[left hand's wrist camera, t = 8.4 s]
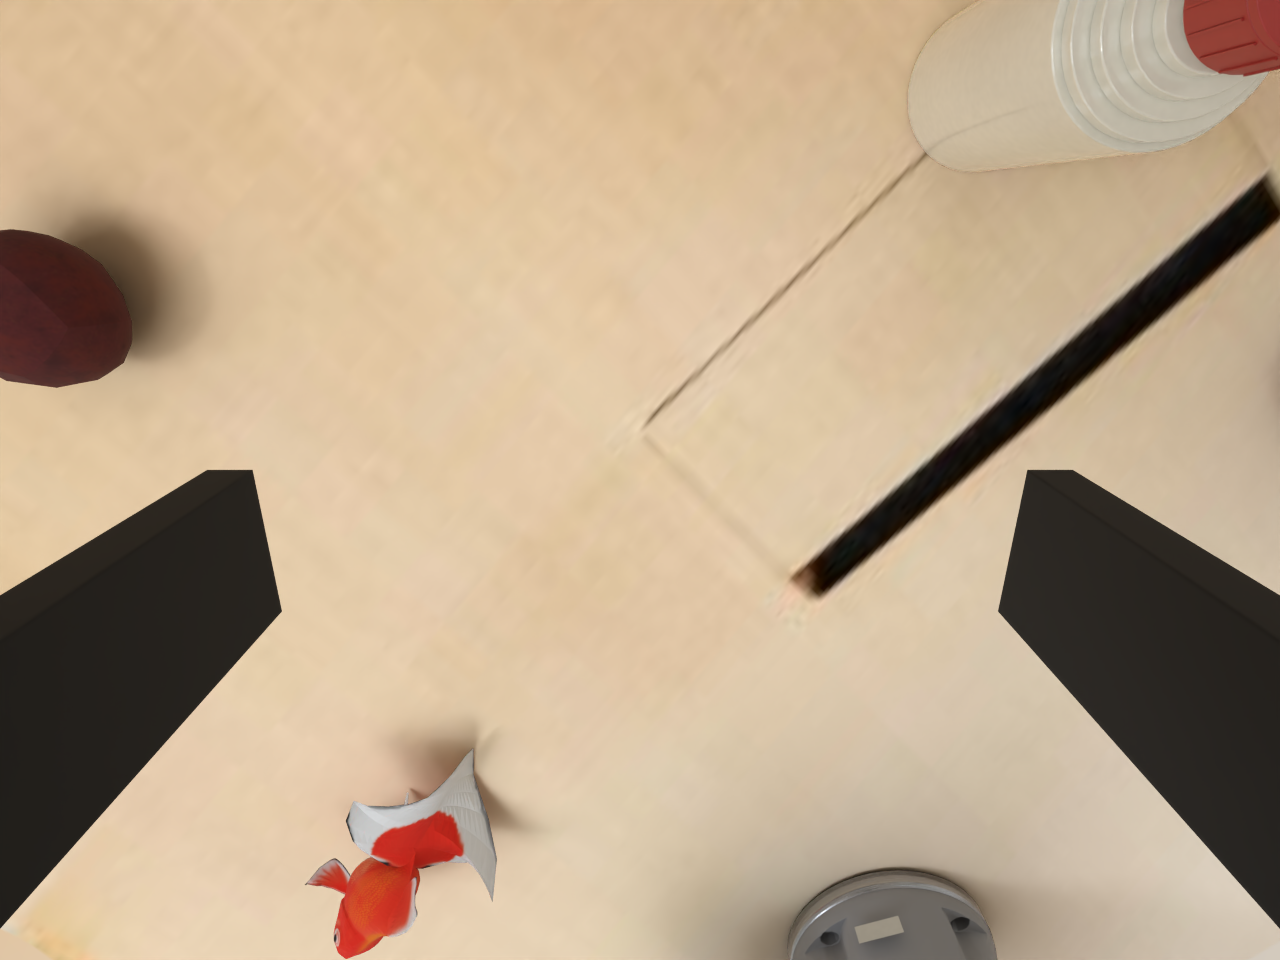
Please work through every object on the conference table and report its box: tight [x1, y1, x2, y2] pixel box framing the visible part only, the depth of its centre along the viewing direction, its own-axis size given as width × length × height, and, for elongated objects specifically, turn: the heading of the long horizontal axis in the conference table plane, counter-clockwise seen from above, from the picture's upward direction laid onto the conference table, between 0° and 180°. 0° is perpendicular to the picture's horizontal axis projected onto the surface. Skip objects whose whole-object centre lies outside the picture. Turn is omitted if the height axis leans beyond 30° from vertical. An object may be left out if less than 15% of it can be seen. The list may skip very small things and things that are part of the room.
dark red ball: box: [0, 229, 132, 388], centre depth 35 cm, size 7×8×7 cm
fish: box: [305, 749, 497, 959], centre depth 47 cm, size 11×16×10 cm
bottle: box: [908, 0, 1269, 172], centre depth 26 cm, size 7×7×18 cm
